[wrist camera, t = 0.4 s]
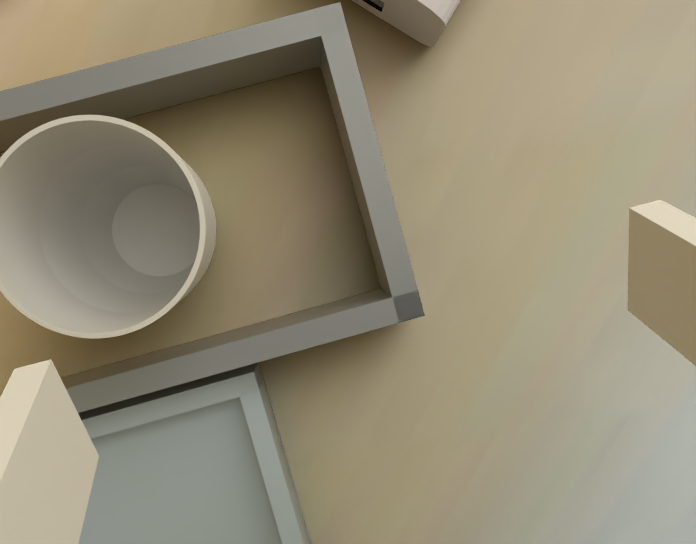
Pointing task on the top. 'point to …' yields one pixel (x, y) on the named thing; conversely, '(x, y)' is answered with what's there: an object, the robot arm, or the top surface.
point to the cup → (100, 226)
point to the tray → (192, 467)
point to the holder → (210, 79)
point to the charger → (415, 16)
